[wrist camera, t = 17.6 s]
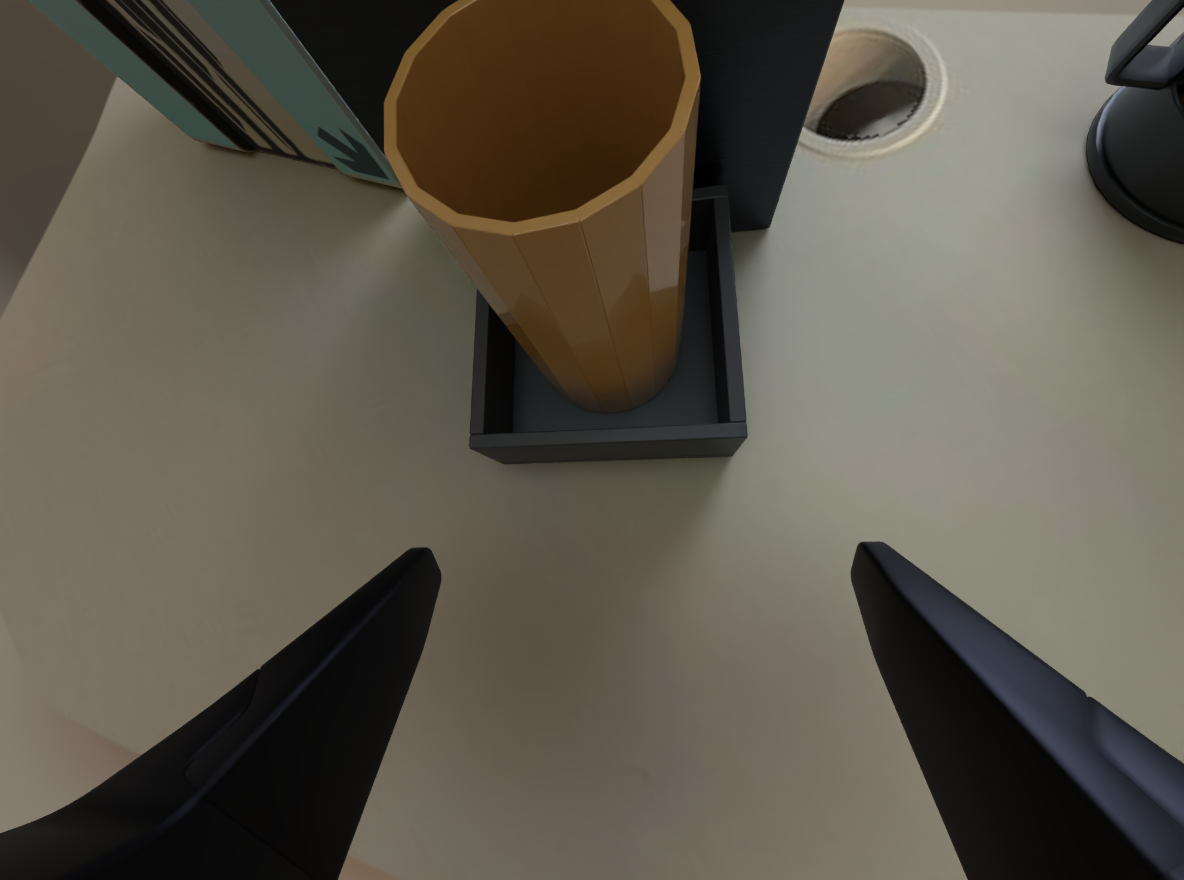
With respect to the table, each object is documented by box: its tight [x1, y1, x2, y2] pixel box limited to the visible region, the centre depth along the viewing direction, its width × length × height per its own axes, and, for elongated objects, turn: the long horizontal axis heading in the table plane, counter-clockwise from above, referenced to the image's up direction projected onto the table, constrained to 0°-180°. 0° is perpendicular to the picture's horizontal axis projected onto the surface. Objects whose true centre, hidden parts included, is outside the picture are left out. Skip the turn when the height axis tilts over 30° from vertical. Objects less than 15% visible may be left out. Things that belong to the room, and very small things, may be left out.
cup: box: [384, 0, 701, 413], centre depth 16 cm, size 7×7×13 cm
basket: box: [469, 185, 748, 464], centre depth 20 cm, size 11×11×4 cm
